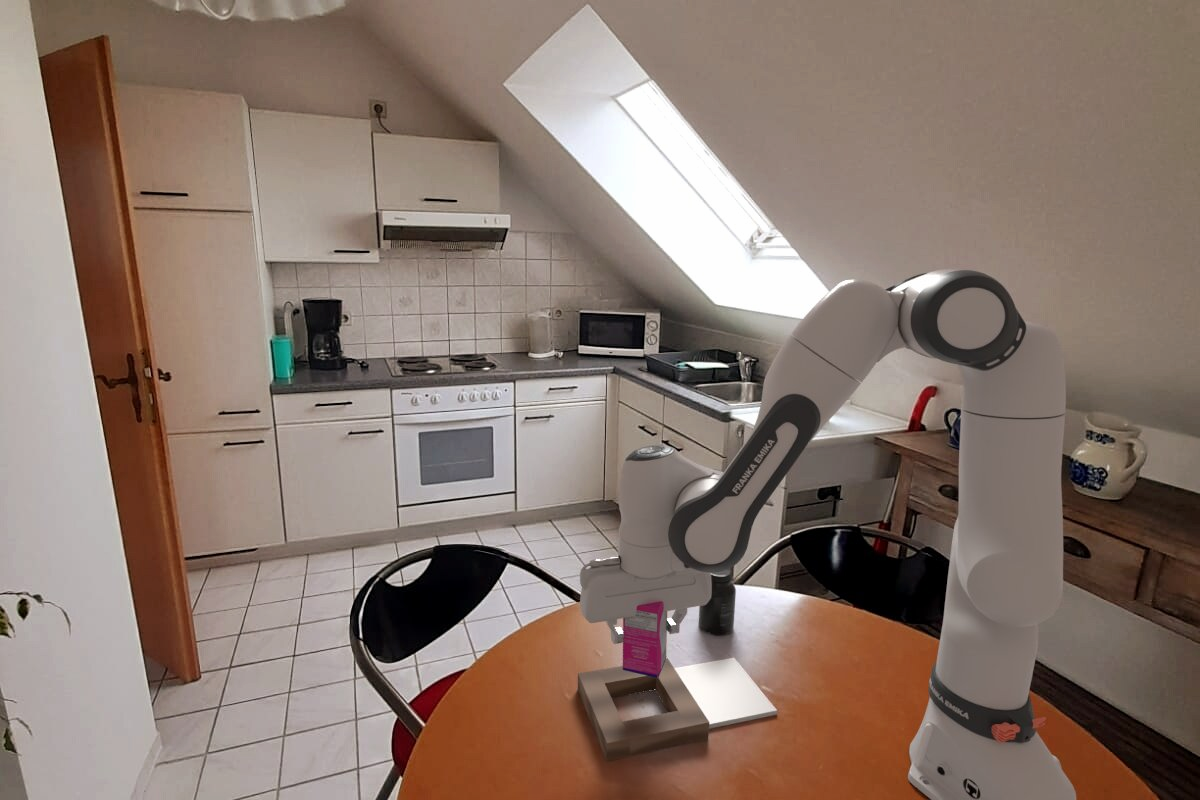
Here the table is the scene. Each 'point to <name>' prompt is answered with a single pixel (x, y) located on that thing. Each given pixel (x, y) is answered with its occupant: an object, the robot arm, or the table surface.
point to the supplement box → (645, 640)
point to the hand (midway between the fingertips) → (645, 636)
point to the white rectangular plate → (725, 692)
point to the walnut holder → (646, 732)
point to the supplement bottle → (719, 605)
